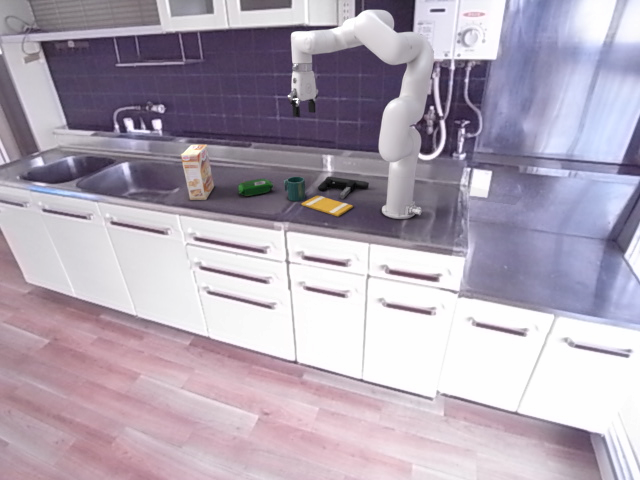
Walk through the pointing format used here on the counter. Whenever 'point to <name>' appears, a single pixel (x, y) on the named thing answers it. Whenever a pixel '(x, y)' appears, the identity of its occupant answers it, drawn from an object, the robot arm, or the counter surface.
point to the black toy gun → (342, 185)
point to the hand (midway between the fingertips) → (304, 114)
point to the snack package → (255, 187)
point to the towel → (327, 205)
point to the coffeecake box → (197, 172)
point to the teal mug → (295, 188)
